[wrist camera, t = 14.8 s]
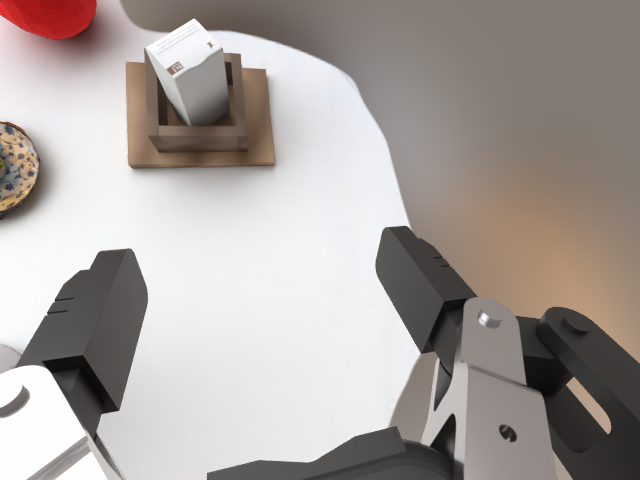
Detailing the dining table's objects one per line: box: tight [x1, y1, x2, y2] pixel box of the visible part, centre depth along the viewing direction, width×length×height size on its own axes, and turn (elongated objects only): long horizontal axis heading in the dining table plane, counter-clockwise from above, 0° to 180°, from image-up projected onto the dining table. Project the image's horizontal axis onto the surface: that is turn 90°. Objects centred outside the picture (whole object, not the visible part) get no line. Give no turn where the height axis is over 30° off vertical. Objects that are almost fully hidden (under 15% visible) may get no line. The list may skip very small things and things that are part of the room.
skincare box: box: [146, 19, 230, 126], centre depth 35 cm, size 6×4×12 cm
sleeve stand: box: [126, 48, 274, 168], centre depth 40 cm, size 18×14×6 cm
